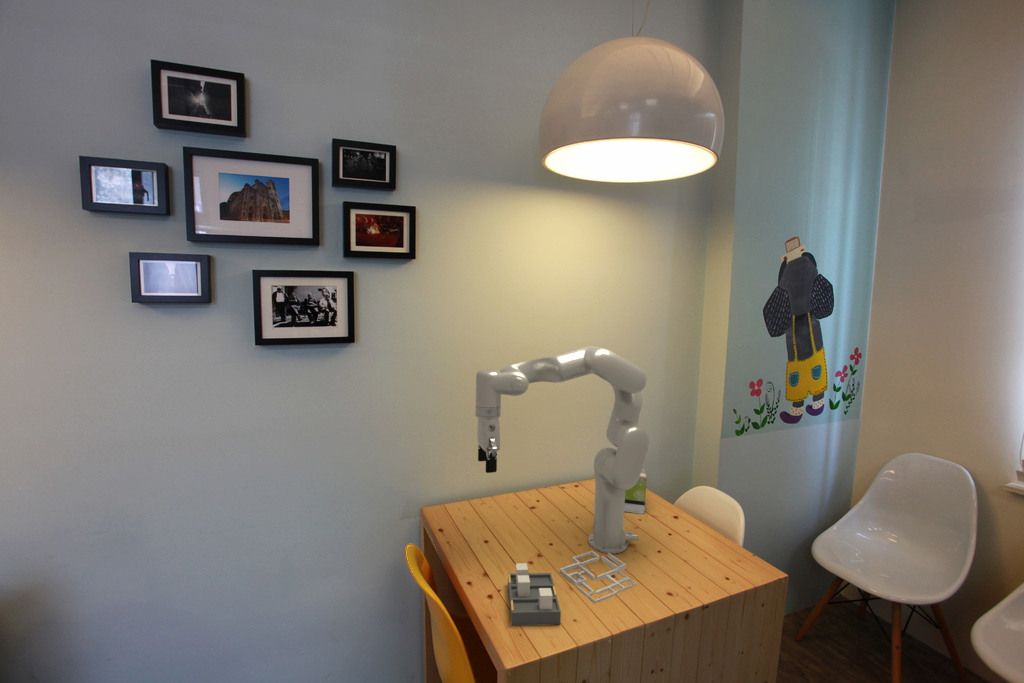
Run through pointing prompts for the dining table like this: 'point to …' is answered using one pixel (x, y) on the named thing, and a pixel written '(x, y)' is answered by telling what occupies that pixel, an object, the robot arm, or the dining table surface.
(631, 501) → the tea box
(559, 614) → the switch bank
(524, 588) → the white block
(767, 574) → the dining table surface
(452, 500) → the dining table surface
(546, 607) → the tab
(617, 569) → the floor plan model
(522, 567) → the white rectangular block
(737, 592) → the dining table surface
